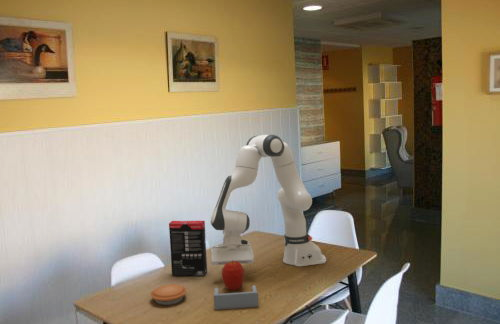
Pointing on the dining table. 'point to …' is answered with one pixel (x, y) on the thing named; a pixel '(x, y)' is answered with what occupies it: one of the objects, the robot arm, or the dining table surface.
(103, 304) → the dining table surface
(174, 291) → the pie
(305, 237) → the robot arm
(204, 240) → the graphics card box
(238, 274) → the apple
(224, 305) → the frame
